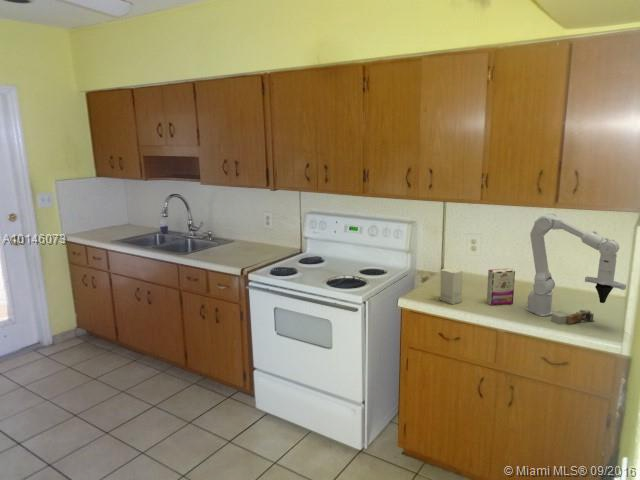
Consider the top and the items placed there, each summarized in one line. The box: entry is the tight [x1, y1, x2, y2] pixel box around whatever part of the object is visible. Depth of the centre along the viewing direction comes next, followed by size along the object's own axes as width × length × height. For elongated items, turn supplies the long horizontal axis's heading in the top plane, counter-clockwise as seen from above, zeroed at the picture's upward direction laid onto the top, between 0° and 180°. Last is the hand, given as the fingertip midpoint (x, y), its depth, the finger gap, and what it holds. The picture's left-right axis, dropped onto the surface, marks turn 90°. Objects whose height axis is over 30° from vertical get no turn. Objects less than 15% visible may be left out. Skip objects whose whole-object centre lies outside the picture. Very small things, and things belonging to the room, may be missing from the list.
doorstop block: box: [550, 311, 568, 325], centre depth 196 cm, size 4×4×4 cm
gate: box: [567, 309, 592, 325], centre depth 195 cm, size 12×3×4 cm, turn 115°
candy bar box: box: [486, 267, 516, 306], centre depth 217 cm, size 11×5×16 cm, turn 99°
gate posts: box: [579, 312, 595, 323], centre depth 197 cm, size 4×6×3 cm
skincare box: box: [439, 267, 463, 305], centre depth 220 cm, size 8×7×16 cm
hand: (602, 302), depth 189 cm, fingers closed
